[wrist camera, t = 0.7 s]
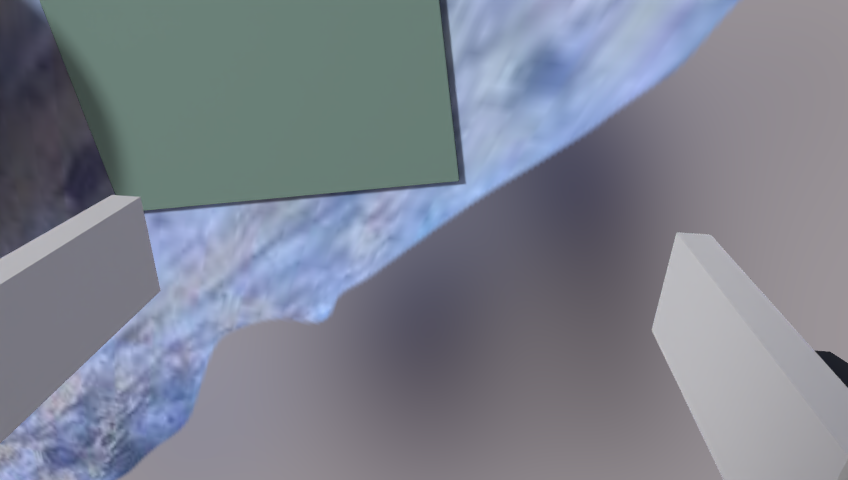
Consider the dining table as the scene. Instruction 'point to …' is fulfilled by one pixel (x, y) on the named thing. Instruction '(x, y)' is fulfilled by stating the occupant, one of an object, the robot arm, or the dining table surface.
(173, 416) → the dining table surface
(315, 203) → the dining table surface
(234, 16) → the mat
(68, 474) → the dining table surface
